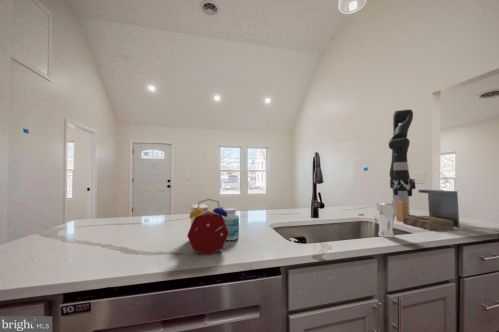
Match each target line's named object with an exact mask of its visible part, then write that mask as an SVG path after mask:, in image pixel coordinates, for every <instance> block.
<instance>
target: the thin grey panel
mask: <svg viewBox="0 0 499 332" xmlns="http://www.w3.org/2000/svg"><path fill="white" fill-rule="evenodd" d="M418 193H420V194H421V193H422V194H427V197H428V198H427V201H428V216H430V217H436V218H441V219H447V220H452V221H453V224H454V228H456V229H460V216H459V214H460V213H459V212H460V211H459V199H458V191H456V190H455V191H454V190H441V189H440V190H439V189H418Z"/></svg>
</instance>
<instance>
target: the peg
mask: <svg viewBox="0 0 499 332" xmlns="http://www.w3.org/2000/svg"><path fill="white" fill-rule="evenodd" d="M395 215H396V221H397V222H401V223H404V219H403V217H409V215H408V208H407V202H404V201H396V214H395Z"/></svg>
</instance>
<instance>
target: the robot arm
mask: <svg viewBox="0 0 499 332" xmlns="http://www.w3.org/2000/svg"><path fill="white" fill-rule="evenodd" d="M413 116H414V112H413V110H412V109H401V110H395V111H394V112H393V119H392V120H393V121H392V122H393V124H392V126H393V133H392V134H393V135H392V137H391V138H390V140H389V141H388V148H389V149H390V150H391V163H390V164H391V165H390V169H389V177H390V179H389V187H390V189H392V200H391V204H393V207H394V215H396V201H404V202H407V208H408V216H410V214H411V213H410V212H411V211H410V197H412V196H413V190H416V182H415V178H410V172H409V171H410V170H409V164H408V151H409V147H410V144H411V143H410V142H411V141H410V139H409V138H408V132H409V130H410V129H409V128H410V127H411V124H412V122H413V119H414V117H413Z"/></svg>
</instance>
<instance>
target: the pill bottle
mask: <svg viewBox="0 0 499 332" xmlns="http://www.w3.org/2000/svg"><path fill="white" fill-rule="evenodd" d="M225 211H226V212H227V216H228V217H224V216H223V219H224V221H225V223H226V226H227V228H228V233H229V234H228V236H227V239H226V240H229V241H228V242H231V241H230V240H234V241H236V239H237V240H238V239H239V238H240V215H239V214H238V213H237V208H231V207H230V208H225Z"/></svg>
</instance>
